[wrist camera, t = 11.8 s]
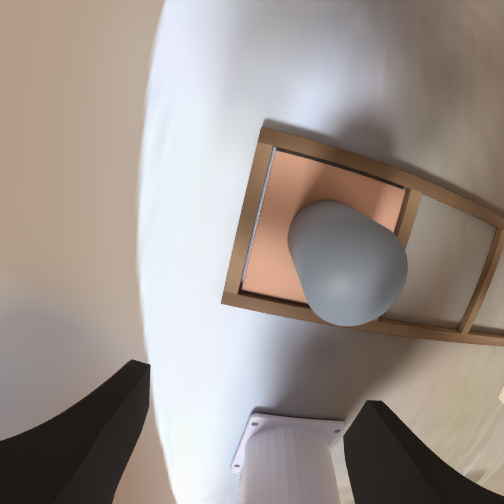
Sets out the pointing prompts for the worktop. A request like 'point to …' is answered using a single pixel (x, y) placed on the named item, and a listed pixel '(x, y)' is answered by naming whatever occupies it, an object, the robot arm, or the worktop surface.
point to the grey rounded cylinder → (346, 262)
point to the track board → (354, 195)
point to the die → (501, 396)
